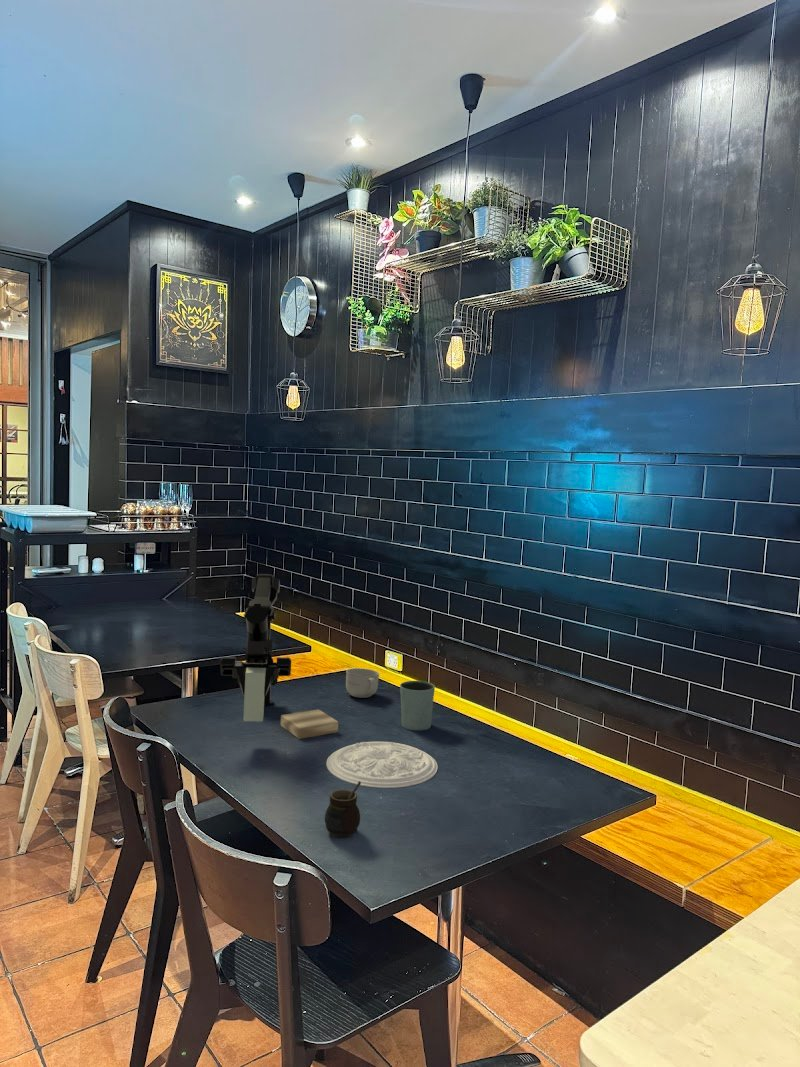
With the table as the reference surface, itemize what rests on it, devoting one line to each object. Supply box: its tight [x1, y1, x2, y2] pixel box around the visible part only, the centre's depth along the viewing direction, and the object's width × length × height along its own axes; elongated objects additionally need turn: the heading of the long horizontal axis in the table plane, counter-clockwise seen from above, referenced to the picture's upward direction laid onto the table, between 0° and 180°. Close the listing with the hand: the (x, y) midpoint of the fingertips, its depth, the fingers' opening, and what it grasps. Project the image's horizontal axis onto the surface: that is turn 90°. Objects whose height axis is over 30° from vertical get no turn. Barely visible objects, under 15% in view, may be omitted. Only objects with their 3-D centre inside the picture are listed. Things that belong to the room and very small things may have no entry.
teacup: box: [345, 667, 380, 699], centre depth 246 cm, size 14×11×8 cm
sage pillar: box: [242, 667, 266, 723], centre depth 201 cm, size 5×5×13 cm
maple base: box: [280, 708, 339, 740], centre depth 214 cm, size 12×12×3 cm
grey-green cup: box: [399, 680, 436, 732], centre depth 221 cm, size 10×10×12 cm
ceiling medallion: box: [326, 741, 439, 789], centre depth 191 cm, size 28×28×3 cm
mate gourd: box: [324, 781, 361, 838], centre depth 155 cm, size 7×8×10 cm
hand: (254, 695), depth 199 cm, fingers closed on sage pillar, 5 cm apart
